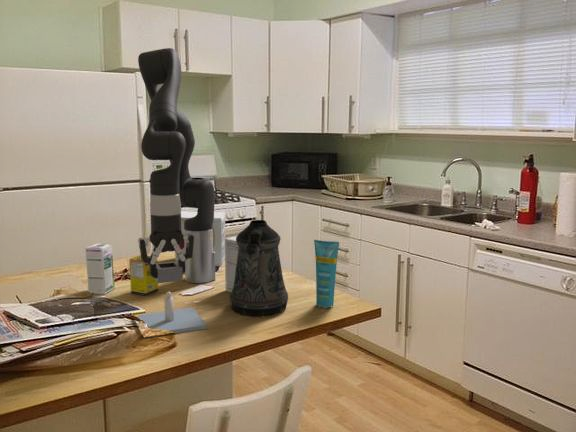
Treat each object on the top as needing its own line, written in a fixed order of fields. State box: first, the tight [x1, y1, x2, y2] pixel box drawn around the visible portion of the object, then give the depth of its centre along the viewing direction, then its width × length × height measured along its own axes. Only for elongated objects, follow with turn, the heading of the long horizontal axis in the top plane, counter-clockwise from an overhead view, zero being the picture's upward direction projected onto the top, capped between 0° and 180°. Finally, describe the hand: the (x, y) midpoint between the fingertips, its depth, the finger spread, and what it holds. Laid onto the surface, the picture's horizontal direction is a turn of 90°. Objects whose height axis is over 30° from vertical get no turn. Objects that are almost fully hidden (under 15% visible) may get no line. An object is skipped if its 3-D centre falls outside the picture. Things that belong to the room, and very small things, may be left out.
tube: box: [313, 239, 340, 308], centre depth 155 cm, size 7×5×19 cm, turn 73°
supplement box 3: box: [224, 235, 239, 293], centre depth 168 cm, size 10×9×17 cm
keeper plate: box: [138, 291, 208, 334], centre depth 141 cm, size 16×14×8 cm
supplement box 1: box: [128, 254, 159, 297], centre depth 166 cm, size 6×6×11 cm
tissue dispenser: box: [155, 260, 184, 284], centre depth 139 cm, size 6×6×4 cm
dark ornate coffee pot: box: [229, 219, 289, 318], centre depth 151 cm, size 16×19×25 cm
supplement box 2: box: [174, 210, 226, 267], centre depth 201 cm, size 17×13×18 cm
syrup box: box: [84, 243, 116, 295], centre depth 166 cm, size 6×6×14 cm
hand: (167, 275), depth 139 cm, fingers closed on tissue dispenser, 6 cm apart
